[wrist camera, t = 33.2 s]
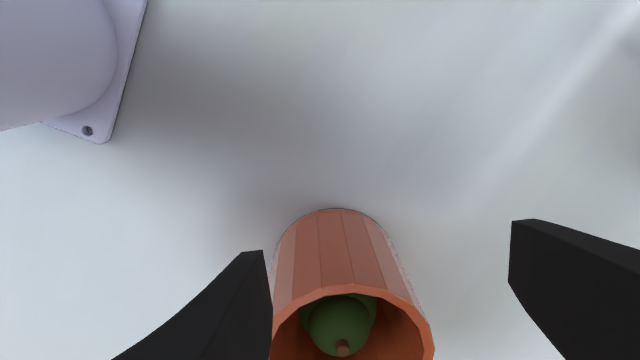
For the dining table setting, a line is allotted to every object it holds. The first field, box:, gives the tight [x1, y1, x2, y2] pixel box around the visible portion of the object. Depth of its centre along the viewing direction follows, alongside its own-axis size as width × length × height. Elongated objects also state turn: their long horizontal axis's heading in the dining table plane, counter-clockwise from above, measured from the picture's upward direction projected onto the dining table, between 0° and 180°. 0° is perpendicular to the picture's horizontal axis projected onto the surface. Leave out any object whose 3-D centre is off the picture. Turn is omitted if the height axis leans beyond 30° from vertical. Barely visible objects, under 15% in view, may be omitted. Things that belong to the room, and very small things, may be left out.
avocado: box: [297, 293, 378, 357], centre depth 19 cm, size 4×4×6 cm
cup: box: [269, 209, 435, 360], centre depth 19 cm, size 7×7×8 cm
